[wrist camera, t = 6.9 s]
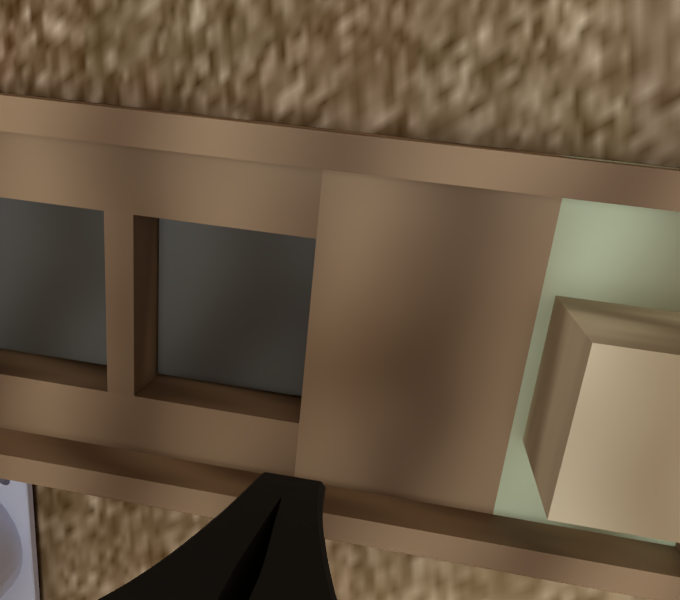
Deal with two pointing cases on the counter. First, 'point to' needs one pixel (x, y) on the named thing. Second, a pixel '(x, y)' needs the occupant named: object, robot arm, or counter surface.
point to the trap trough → (313, 322)
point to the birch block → (608, 418)
